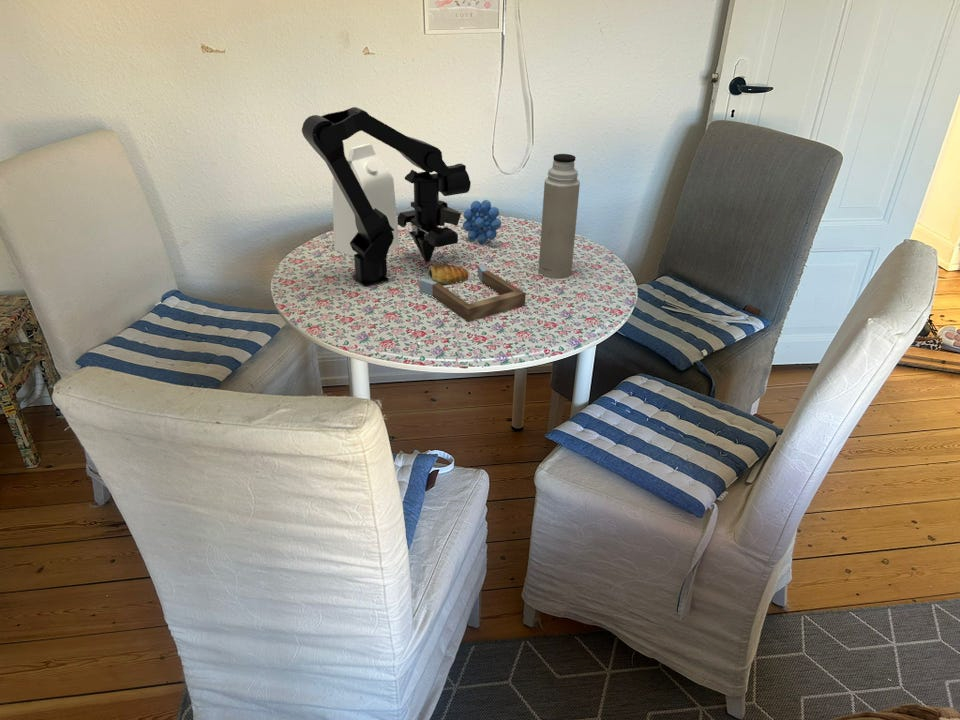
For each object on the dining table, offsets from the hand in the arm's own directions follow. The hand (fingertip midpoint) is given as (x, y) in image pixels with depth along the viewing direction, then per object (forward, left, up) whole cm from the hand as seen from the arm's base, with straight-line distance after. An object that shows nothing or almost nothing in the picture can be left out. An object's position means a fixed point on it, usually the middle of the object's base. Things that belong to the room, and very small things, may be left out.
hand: (427, 261), depth 174 cm
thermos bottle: (+25, -18, -2) cm, 31 cm away
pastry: (0, -8, -2) cm, 8 cm away
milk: (-7, +19, -2) cm, 20 cm away
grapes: (+21, +7, -2) cm, 22 cm away
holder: (0, -20, -2) cm, 20 cm away
